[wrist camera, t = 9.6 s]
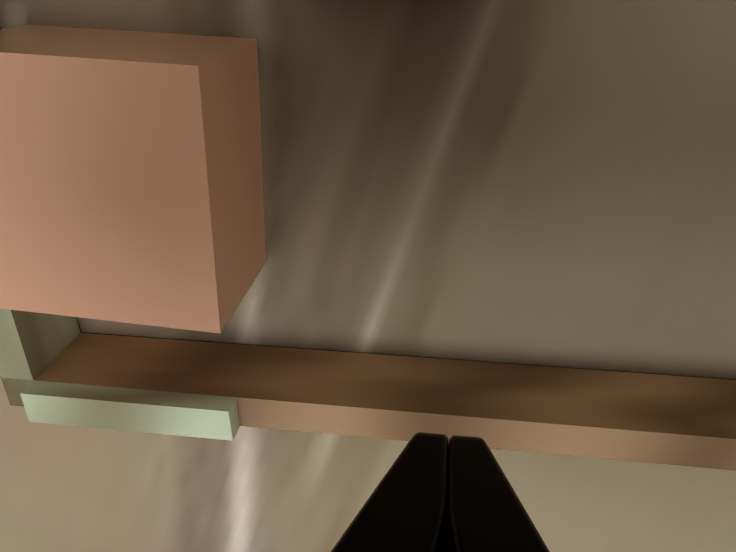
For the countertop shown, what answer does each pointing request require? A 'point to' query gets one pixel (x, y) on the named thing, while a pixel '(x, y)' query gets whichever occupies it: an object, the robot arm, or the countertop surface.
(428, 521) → the robot arm
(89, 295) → the block
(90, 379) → the brown wooden frame
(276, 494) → the countertop surface
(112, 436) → the countertop surface
